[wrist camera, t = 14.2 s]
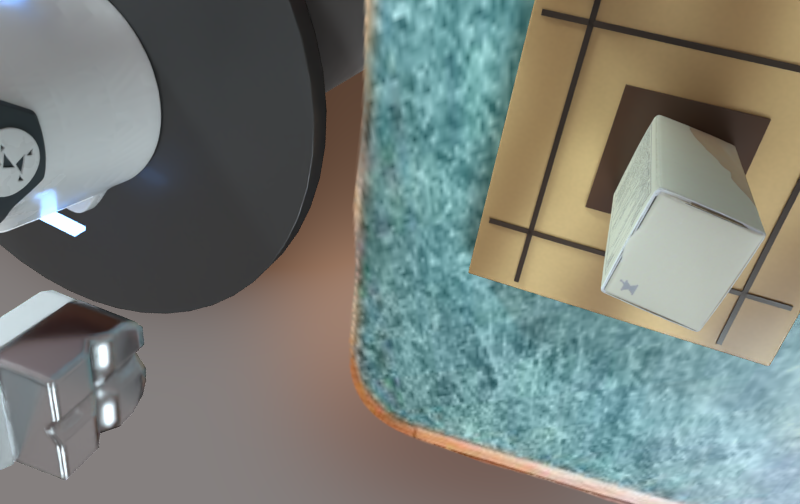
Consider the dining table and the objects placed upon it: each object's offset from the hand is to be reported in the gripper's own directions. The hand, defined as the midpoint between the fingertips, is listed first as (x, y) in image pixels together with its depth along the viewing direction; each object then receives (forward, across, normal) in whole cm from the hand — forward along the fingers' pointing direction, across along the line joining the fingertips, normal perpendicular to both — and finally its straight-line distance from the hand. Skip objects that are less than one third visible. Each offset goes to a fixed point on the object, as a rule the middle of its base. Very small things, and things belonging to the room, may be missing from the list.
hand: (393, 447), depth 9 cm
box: (+29, -6, +5) cm, 30 cm away
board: (+31, -6, +5) cm, 32 cm away
